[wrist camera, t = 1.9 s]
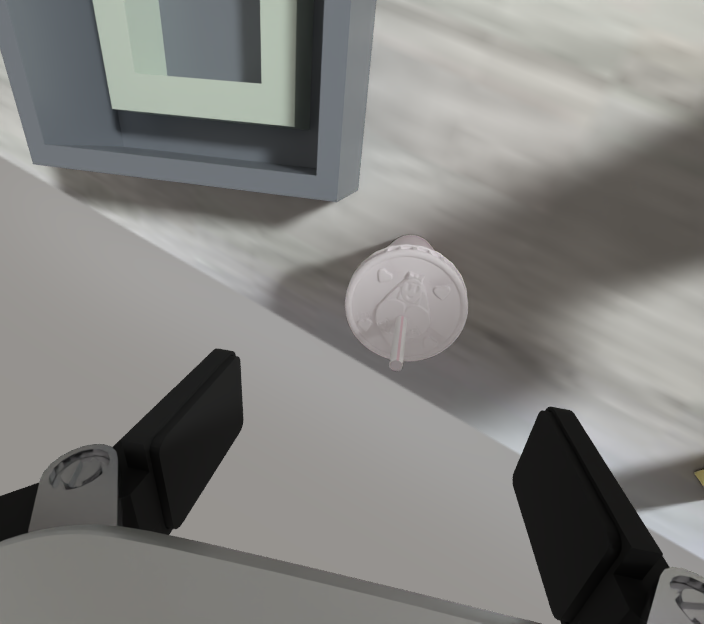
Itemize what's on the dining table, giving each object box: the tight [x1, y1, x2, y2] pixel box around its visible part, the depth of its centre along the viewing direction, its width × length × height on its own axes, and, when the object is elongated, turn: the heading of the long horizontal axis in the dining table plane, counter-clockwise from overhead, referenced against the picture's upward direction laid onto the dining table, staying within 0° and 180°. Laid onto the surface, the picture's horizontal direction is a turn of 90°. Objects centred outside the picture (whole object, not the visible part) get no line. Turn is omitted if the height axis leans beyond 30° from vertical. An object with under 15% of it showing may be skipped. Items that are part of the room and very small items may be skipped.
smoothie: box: [345, 235, 468, 371], centre depth 20 cm, size 6×6×14 cm
